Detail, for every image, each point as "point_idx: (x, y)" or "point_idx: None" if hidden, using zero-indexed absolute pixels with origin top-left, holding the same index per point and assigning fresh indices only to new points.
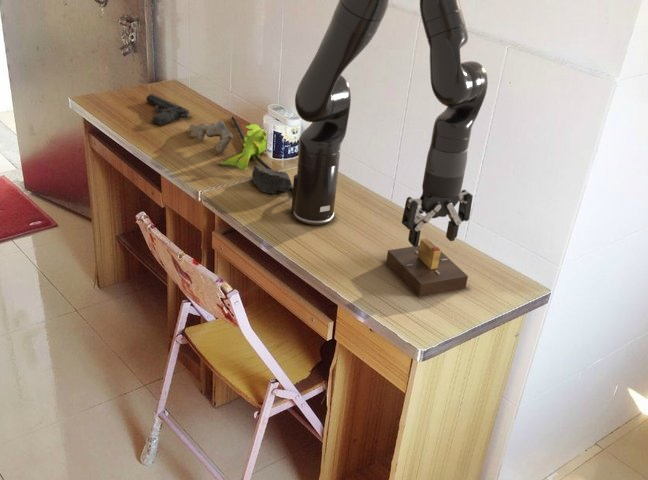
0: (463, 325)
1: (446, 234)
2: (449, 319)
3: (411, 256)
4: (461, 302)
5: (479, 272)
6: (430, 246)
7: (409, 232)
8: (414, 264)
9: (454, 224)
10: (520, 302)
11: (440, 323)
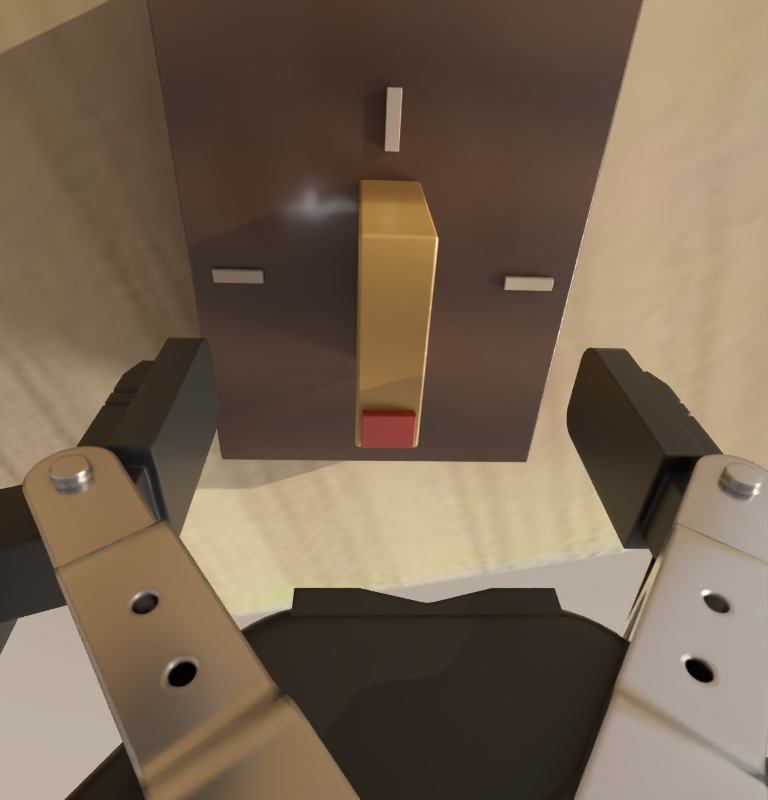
0: (324, 585)
1: (597, 357)
2: (292, 553)
3: (315, 156)
4: (412, 487)
5: (708, 311)
6: (374, 377)
7: (90, 429)
8: (280, 273)
9: (644, 538)
10: None
11: (243, 562)
